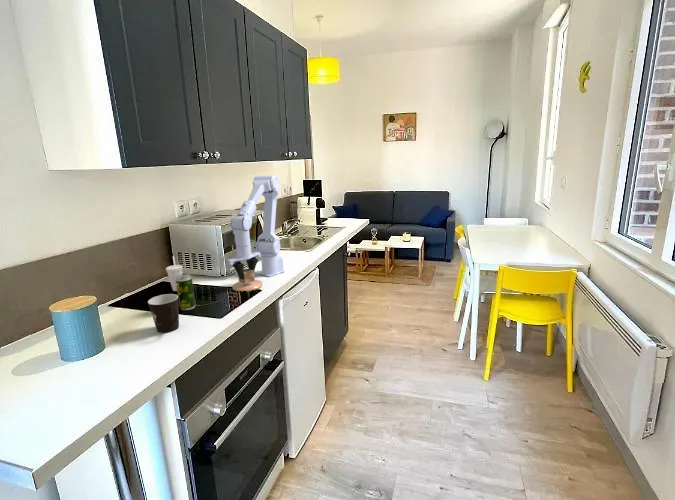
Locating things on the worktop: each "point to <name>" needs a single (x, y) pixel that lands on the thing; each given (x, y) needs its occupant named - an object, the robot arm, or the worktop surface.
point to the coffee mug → (165, 312)
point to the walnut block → (247, 276)
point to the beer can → (185, 292)
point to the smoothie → (174, 274)
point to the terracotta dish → (247, 286)
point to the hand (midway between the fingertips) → (246, 277)
